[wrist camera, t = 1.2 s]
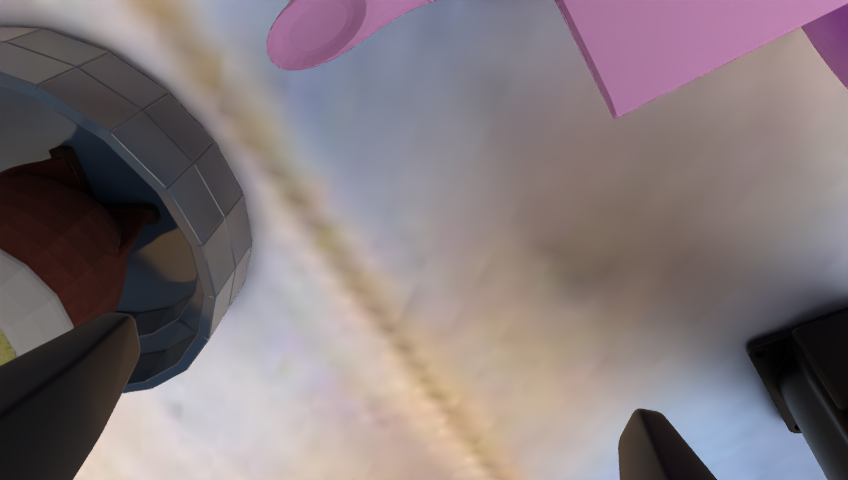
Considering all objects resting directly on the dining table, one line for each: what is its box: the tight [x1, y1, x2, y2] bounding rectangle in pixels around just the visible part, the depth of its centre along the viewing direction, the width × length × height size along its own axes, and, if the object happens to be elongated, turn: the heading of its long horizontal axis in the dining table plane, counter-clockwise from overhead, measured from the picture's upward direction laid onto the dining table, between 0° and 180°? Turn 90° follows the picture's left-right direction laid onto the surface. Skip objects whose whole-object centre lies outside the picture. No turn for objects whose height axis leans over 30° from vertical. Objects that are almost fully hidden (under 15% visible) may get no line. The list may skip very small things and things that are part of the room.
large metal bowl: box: [0, 27, 252, 393], centre depth 23 cm, size 15×15×4 cm
